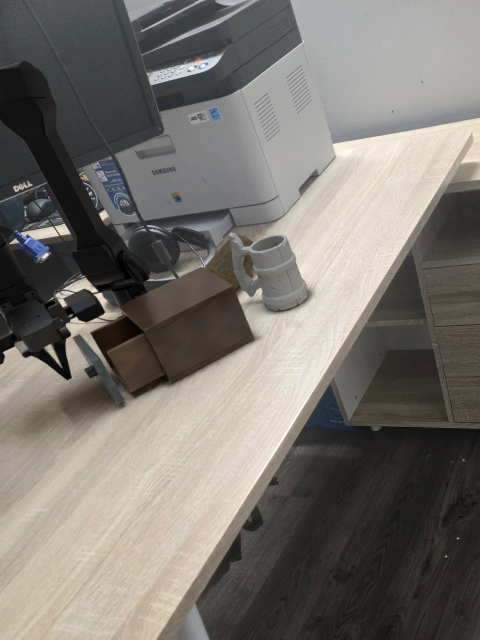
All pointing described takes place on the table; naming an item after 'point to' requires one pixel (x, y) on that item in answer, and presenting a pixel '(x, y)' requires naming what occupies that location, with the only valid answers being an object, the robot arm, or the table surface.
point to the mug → (270, 271)
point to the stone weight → (229, 262)
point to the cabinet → (190, 322)
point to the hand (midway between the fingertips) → (69, 378)
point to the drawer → (121, 356)
